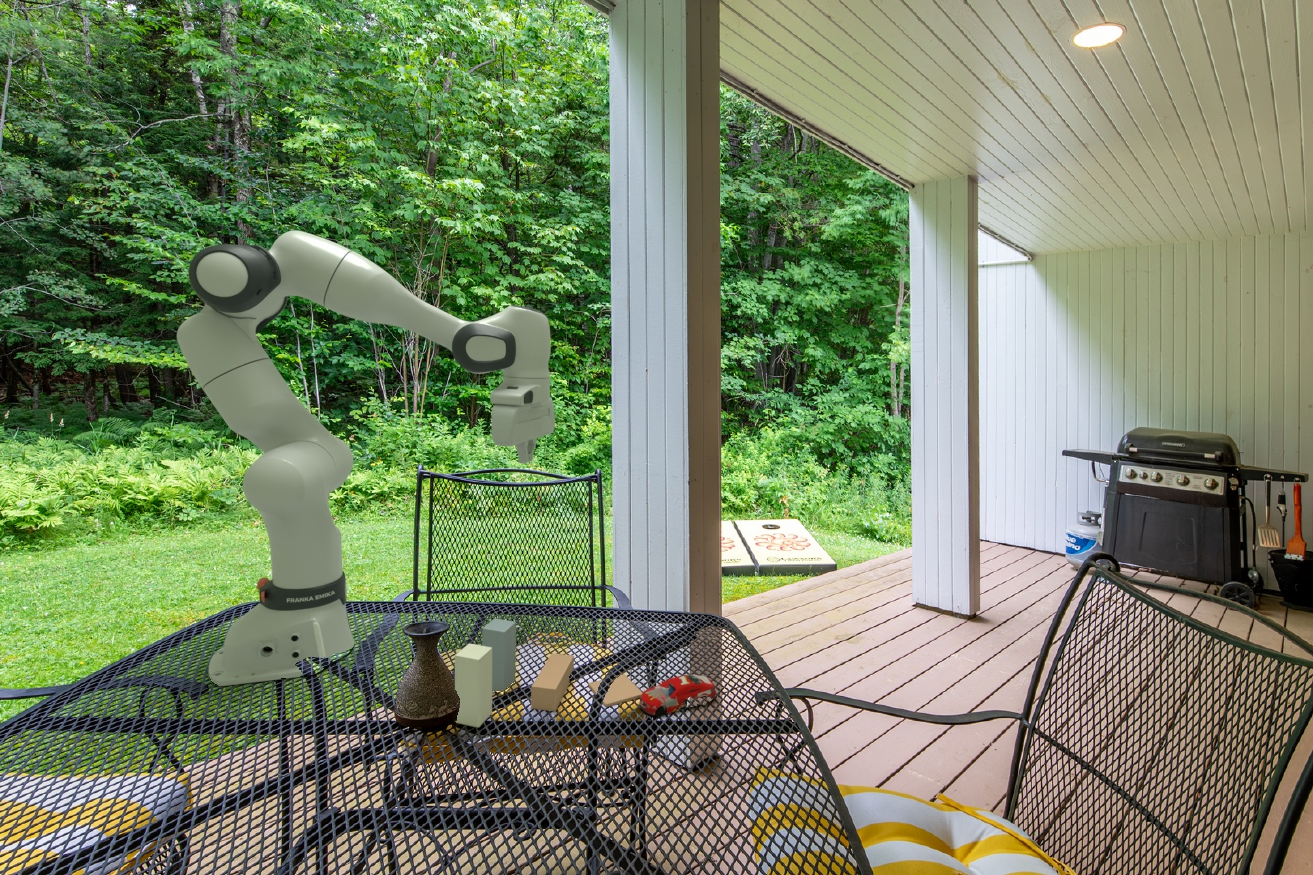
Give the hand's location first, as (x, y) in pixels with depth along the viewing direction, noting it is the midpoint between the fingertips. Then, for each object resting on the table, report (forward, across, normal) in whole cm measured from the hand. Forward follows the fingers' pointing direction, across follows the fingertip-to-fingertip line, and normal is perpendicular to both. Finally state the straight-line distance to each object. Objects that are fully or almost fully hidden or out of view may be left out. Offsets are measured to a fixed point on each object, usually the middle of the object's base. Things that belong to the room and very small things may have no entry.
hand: (525, 462), depth 124 cm
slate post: (+34, +22, +6) cm, 41 cm away
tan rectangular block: (+32, +15, +15) cm, 39 cm away
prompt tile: (+34, +17, +25) cm, 46 cm away
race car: (+35, +17, +36) cm, 53 cm away
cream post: (+34, +31, +7) cm, 47 cm away
